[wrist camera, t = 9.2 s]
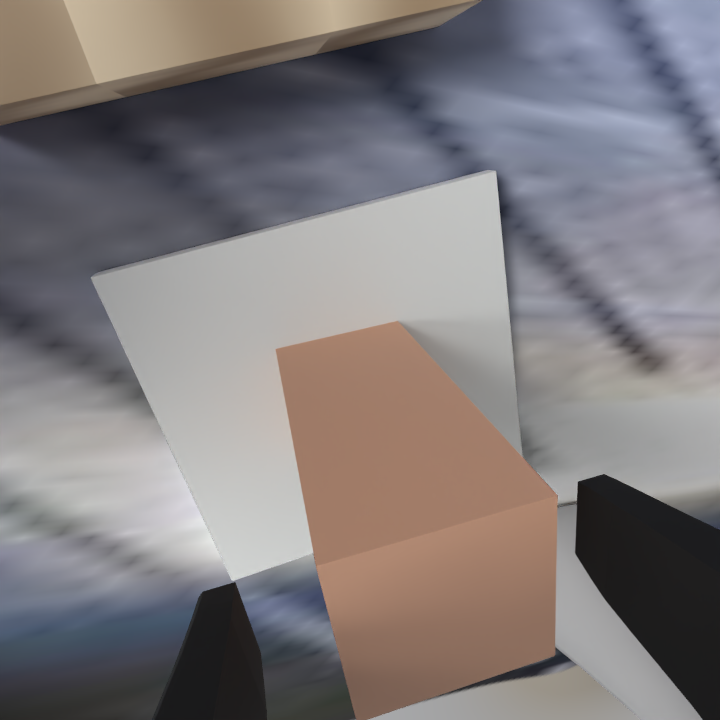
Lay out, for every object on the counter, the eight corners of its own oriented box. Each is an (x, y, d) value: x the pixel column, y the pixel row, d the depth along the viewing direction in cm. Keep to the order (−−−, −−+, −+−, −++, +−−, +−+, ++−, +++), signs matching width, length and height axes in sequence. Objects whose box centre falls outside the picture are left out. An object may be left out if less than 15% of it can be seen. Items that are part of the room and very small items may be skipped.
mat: (232, 569, 19) (232, 581, 19) (96, 272, 14) (90, 277, 14) (517, 472, 21) (524, 481, 20) (487, 170, 16) (495, 170, 15)
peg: (301, 453, 17) (357, 723, 9) (275, 348, 16) (316, 566, 8) (411, 425, 18) (555, 655, 10) (397, 320, 16) (557, 495, 8)
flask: (628, 470, 22) (893, 691, 13) (639, 577, 25) (859, 814, 16) (479, 535, 22) (649, 810, 13) (509, 636, 25) (663, 913, 16)
